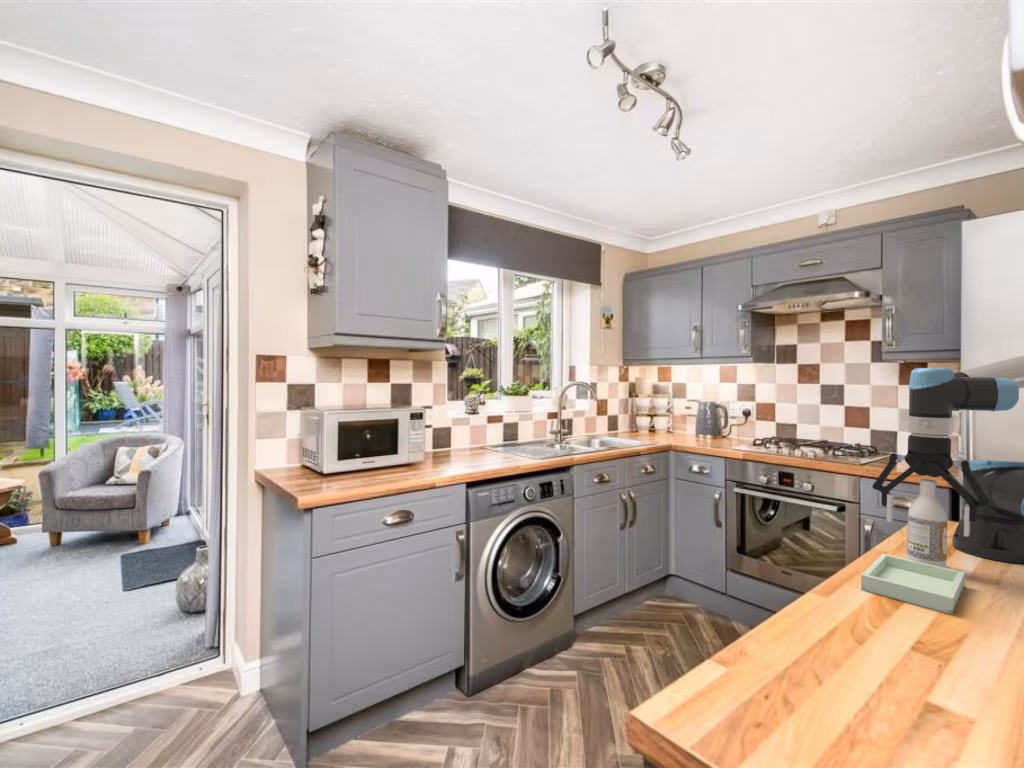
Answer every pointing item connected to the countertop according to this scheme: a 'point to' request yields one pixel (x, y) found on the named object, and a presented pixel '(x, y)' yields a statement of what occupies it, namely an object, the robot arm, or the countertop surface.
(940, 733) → the countertop surface
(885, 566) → the tray
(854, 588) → the countertop surface
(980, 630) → the countertop surface
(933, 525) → the bath foam
